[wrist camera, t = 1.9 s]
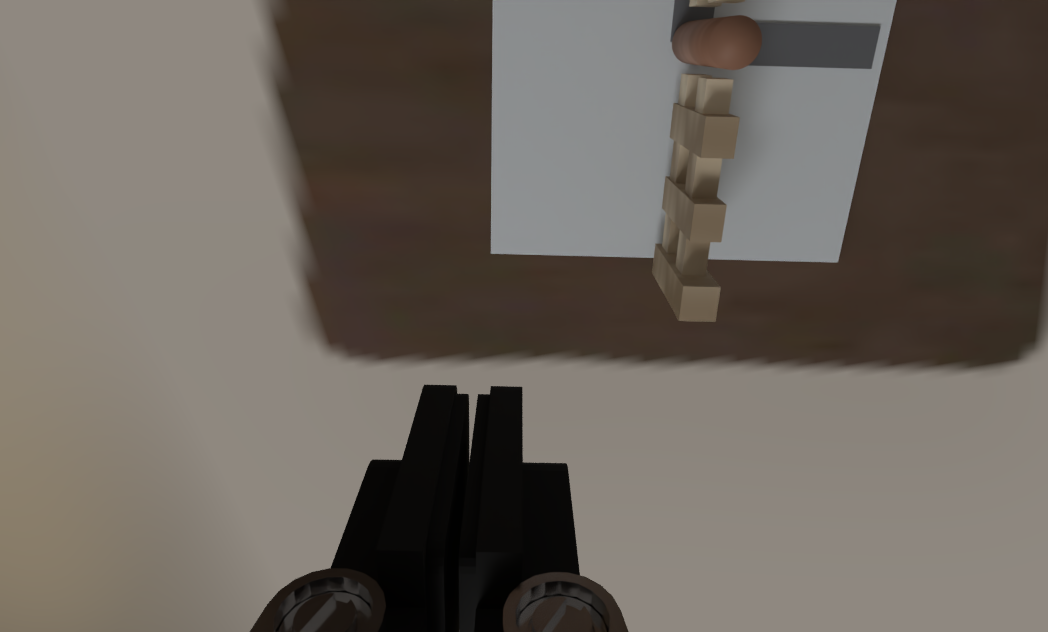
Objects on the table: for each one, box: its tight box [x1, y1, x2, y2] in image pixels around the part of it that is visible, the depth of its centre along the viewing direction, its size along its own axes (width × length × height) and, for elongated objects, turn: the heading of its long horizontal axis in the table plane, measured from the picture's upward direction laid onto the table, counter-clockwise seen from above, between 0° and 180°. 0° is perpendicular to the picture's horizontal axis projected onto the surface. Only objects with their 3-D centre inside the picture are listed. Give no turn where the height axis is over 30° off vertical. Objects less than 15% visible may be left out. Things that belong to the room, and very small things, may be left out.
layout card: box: [491, 0, 897, 262], centre depth 23 cm, size 17×14×1 cm
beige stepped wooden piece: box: [652, 15, 762, 322], centre depth 22 cm, size 9×1×5 cm, turn 178°
